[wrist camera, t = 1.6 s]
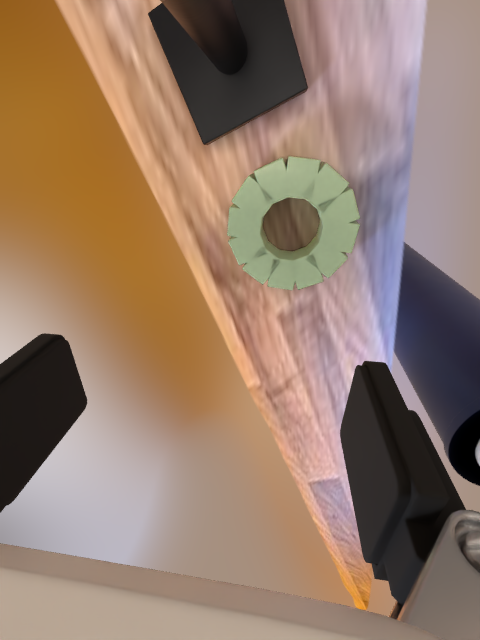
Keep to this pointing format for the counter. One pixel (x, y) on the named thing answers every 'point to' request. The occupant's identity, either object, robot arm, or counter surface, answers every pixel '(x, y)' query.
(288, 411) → the counter surface
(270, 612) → the robot arm
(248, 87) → the post
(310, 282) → the ring
